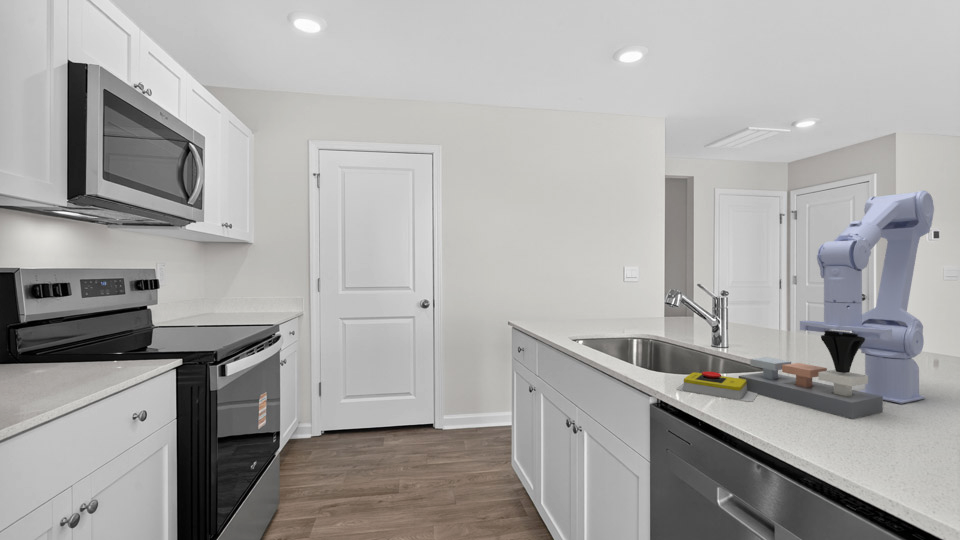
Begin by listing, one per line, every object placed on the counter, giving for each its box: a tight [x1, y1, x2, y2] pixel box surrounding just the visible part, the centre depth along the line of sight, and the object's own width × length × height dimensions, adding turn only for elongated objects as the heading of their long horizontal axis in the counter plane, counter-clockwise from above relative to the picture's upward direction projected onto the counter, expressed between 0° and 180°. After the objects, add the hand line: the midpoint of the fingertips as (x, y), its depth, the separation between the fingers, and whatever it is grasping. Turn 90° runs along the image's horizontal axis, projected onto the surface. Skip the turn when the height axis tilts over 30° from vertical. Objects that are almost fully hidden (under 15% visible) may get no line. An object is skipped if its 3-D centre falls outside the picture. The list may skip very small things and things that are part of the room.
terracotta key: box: [781, 362, 828, 387], centre depth 91 cm, size 6×6×4 cm
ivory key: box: [817, 369, 868, 396], centre depth 85 cm, size 6×6×4 cm
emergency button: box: [676, 371, 759, 403], centre depth 98 cm, size 9×4×15 cm
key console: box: [738, 372, 884, 420], centre depth 91 cm, size 10×22×3 cm, turn 23°
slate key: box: [750, 356, 792, 380], centre depth 98 cm, size 6×6×4 cm
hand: (842, 371), depth 85 cm, fingers closed
